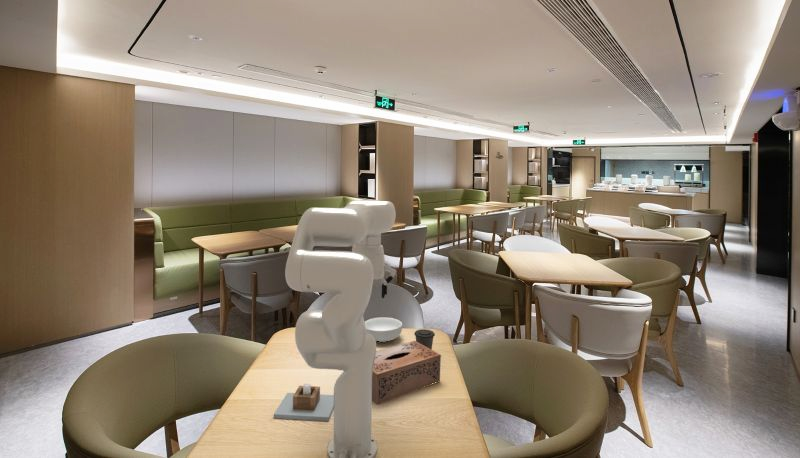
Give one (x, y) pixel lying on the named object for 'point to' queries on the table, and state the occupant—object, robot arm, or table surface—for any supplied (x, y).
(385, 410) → the table surface
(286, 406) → the post board
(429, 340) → the coffee cup
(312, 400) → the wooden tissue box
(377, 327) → the cereal bowl
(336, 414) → the robot arm
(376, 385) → the tissue box cover
